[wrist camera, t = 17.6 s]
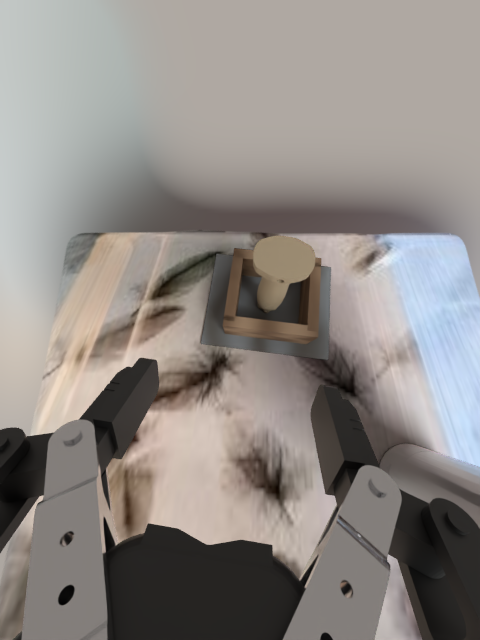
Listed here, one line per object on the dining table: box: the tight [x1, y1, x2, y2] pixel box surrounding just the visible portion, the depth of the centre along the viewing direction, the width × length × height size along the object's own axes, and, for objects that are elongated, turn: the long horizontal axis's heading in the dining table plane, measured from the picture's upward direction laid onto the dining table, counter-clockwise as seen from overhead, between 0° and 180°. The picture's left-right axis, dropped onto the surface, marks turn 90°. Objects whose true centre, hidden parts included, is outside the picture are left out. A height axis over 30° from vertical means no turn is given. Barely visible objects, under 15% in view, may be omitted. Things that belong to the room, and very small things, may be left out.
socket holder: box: [201, 248, 331, 360], centre depth 36 cm, size 20×16×6 cm
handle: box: [253, 236, 315, 313], centre depth 31 cm, size 5×6×15 cm
